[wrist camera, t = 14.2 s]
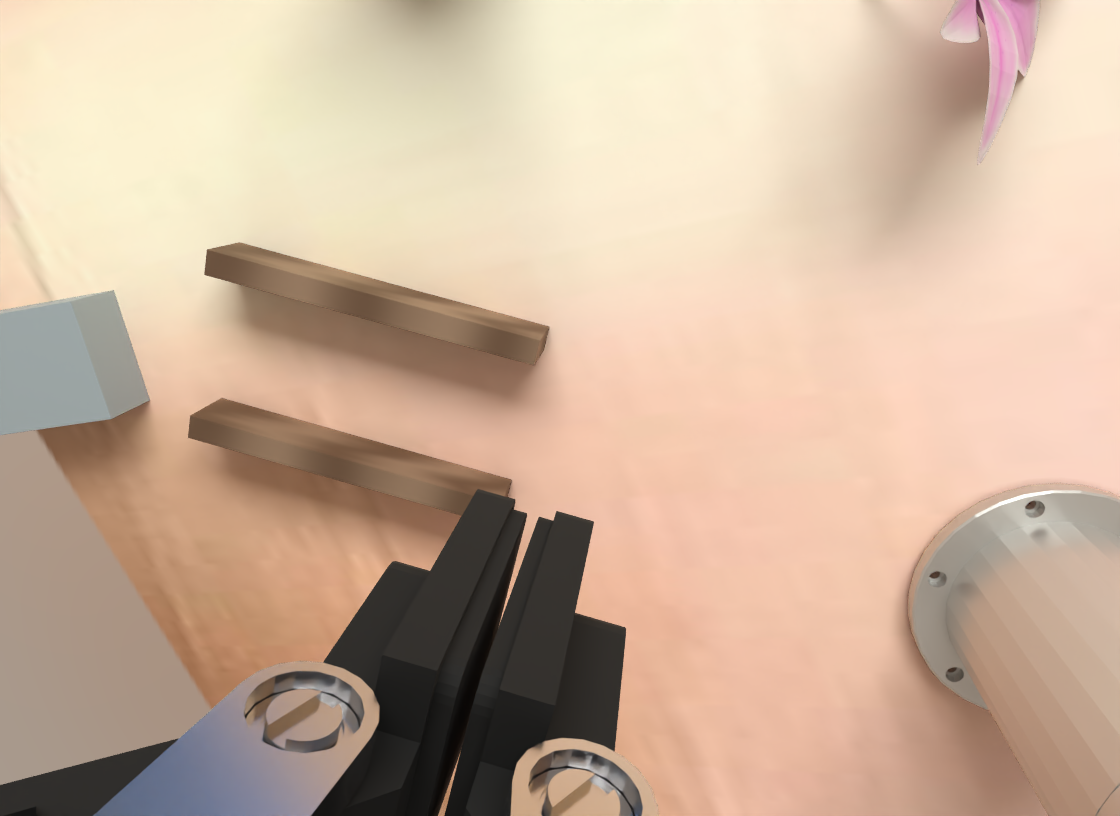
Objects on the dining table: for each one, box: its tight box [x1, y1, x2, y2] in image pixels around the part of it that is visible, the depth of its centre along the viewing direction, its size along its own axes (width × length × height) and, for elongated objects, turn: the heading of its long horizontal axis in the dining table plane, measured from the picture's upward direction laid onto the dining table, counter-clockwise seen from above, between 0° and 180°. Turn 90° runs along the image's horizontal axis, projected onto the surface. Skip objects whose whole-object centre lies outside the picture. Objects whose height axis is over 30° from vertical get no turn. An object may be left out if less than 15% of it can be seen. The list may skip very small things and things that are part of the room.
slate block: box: [0, 290, 150, 435], centre depth 43 cm, size 8×6×4 cm
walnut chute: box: [188, 243, 549, 515], centre depth 41 cm, size 16×10×3 cm, turn 76°
